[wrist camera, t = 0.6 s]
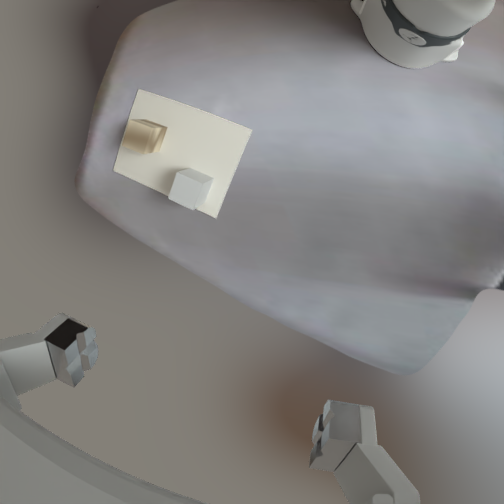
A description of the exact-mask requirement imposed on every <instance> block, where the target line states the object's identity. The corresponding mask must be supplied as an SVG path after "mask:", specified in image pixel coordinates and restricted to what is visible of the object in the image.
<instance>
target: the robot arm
mask: <svg viewBox="0 0 504 504" xmlns="http://www.w3.org/2000/svg"><path fill="white" fill-rule="evenodd" d="M494 4H495V0H364V1H360V0H352V1H351V3H350V5H351V8H352V9H353V11H354V12H355V13H356V14H357V16H358V17H359V18H360V20H361V23H362V27H363V30H364V33H365V35H366V37H367V39H368V41H369V42H370V44H371V45H372V46H373V48H374V49H375V50H376V51H377V52H378V53H379V54H380V55H382V56H383V57H384V58H386V59H387V60H389V61H390V62H392V63H394V64H397V65H399V66H402V67H406V68H412V69H420V68H426V67H429V66H431V65H433V64H435V63H438V62H453V61H455V60H456V59H457V57H458V50H459V48H460V47H461V46H462V45H463V43H464V42H463V37H464V35H466V33H467V32H468V31H469V30H470V28H471V26H473V25H475V24H476V23H478V22H479V21H481V20H483V19H484V18H486V17H487V16H488V15H489V14H490V13H491V11H492V9H493V7H494ZM95 338H96V331H95V329H94V328H93V327H91V326H89V325H86V324H85V323H82V322H81V321H78V320H76V319H74V318H72V317H70V316H68V315H66V314H64V313H59V314H57V315H56V316H55V317H54V318H52V319H51V320H50V321H49V322H47V323H46V324H45V325H44V326H42V327H41V328H40V329H39V330H38V331H36V333H34V334H32V333H27V334H23V335H18V336H13V337H9V338H5V339H0V504H208V503H205V502H201V501H199V500H195V499H192V498H189V497H186V496H183V495H180V494H178V493H175V492H172V491H169V490H167V489H164V488H161V487H158V486H156V485H154V484H151V483H149V482H146V481H144V480H141V479H139V478H137V477H135V476H132V475H130V474H128V473H125V472H123V471H121V470H119V469H117V468H115V467H113V466H111V465H109V464H107V463H105V462H103V461H101V460H99V459H97V458H95V457H93V456H91V455H90V454H88V453H86V452H84V451H82V450H80V449H78V448H77V447H75V446H73V445H72V444H70V443H68V442H67V441H65V440H63V439H62V438H60V437H58V436H57V435H55V434H53V433H52V432H51V431H49V430H47V429H46V428H44V427H43V426H41V425H40V424H38V423H37V422H35V421H34V420H33V419H31V418H30V417H28V416H27V415H25V414H24V413H23V412H21V411H20V410H21V404H20V402H19V399H18V397H17V396H18V395H20V394H23V393H25V392H28V391H30V390H33V389H35V388H37V387H40V386H42V385H45V384H47V383H50V382H52V381H54V380H56V378H57V379H59V380H60V381H62V382H64V383H66V384H68V385H70V386H72V387H75V386H76V385H77V384H78V383H79V382H80V380H81V379H82V378H83V377H84V371H86V370H89V369H91V368H92V367H93V366H94V364H95V362H96V360H97V358H98V346H97V344H96V343H95V341H94V339H95ZM312 442H313V443H314V445H315V446H314V447H313V449H312V450H311V454H310V464H309V468H313V469H320V470H325V471H331V472H334V475H335V477H336V479H337V481H338V483H339V485H340V487H341V489H342V490H343V492H344V494H345V496H346V498H347V500H348V502H349V504H420V496H419V492H418V491H417V490H416V489H415V487H414V486H413V485H412V484H411V482H410V481H409V480H408V479H407V477H406V476H405V475H404V474H403V472H402V471H401V470H400V469H399V467H398V466H397V465H396V464H395V463H394V461H393V460H392V459H391V457H390V456H389V455H388V454H387V452H386V451H385V450H384V449H383V447H382V446H378V445H377V436H376V425H375V415H374V409H373V407H371V406H364V405H357V404H351V403H345V402H339V401H333V400H328V401H327V402H326V404H325V406H324V411H323V414H321V415H320V416H319V417H318V419H317V421H316V424H315V427H314V430H313V437H312Z"/></svg>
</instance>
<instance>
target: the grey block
mask: <svg viewBox="0 0 504 504" xmlns="http://www.w3.org/2000/svg"><path fill="white" fill-rule="evenodd" d="M213 180H214V178H213V177H210V176H208V175H206V174H204V173H201V172H199V171H197V170H194V169H192V168H189V169H185V170H182V171H179V172H177V173H176V176H175V179H174V182H173V185H172V188H171V191H170V194H169V197H168V199H170V200H172V201H174V202H176V203H179V204H181V205H183V206H185V207H187V208H189V209H191V210H194V209H196V208H197V207H199V206H200V205H202V204H203V203H205V201H206V199H207V196H208V193H209V191H210V188H211V186H212V183H213Z"/></svg>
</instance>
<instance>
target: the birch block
mask: <svg viewBox="0 0 504 504" xmlns="http://www.w3.org/2000/svg"><path fill="white" fill-rule="evenodd" d="M167 128H168V127H165V126H163V125H160V124H157V123H155V122H152V121H149V120H147V119H133V120H129V123H128V126H127V129H126V133H125V136H124V139H123V143H122V146H124V147H126V148H129V149H131V150H134V151H136V152H139V153H141V154H149V153H154V152H159V151H160V148H161V145H162V142H163V139H164V136H165V133H166V131H167Z"/></svg>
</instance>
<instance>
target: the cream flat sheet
mask: <svg viewBox="0 0 504 504" xmlns="http://www.w3.org/2000/svg"><path fill="white" fill-rule="evenodd" d="M133 119H147V120H149V121H152V122H155V123H157V124H160V125H163V126H165V127H168V128H167V131H166V133H165V136H164V139H163V142H162V145H161V148H160V151H159V152H154V153H149V154H141V153H139V152H136V151H134V150H131V149H129V148H126V147H124V146H122V143H123V139H124V136H125V133H126V129H127V126H128V123H129V120H133ZM251 133H252V129H249V128H247V127H244V126H242V125H239V124H237V123H234V122H232V121H229V120H227V119H224V118H222V117H219V116H216V115H214V114H211V113H209V112H206V111H203V110H200V109H198V108H195V107H192V106H189V105H186V104H184V103H181V102H178V101H175V100H172V99H169V98H166V97H163V96H160V95H157V94H154V93H150V92H147V91H144V90H141V89H138V92H137V95H136V98H135V101H134V104H133V107H132V109H131V112H130V115H129V119H128V122H127V125H126V128H125V131H124V134H123V138H122V141H121V145H120V148H119V151H118V155H117V159H116V162H115V166H114V170H113V171H115V172H117V173H119V174H122V175H124V176H126V177H128V178H130V179H133V180H135V181H137V182H139V183H141V184H143V185H146V186H148V187H150V188H152V189H154V190H156V191H159V192H161V193H163V194H165V195H167V196H169V194H170V191H171V188H172V185H173V182H174V179H175V176H176V173H177V172H179V171H182V170H185V169H189V168H192V169H194V170H197V171H199V172H201V173H204V174H206V175H208V176H210V177H213V178H214V180H213V183H212V186H211V188H210V191H209V193H208V196H207V199H206V201H205V203H203V204H202V205H200V206H199V207H197V208H196V209H197V210H199V211H201V212H204V213H206V214H208V215H210V216H212V217H214V218H217V215H218V212H219V210H220V207H221V205H222V202H223V200H224V197H225V195H226V193H227V190H228V188H229V185H230V183H231V180H232V178H233V175H234V173H235V171H236V168H237V166H238V163H239V161H240V159H241V156H242V154H243V151H244V149H245V147H246V144H247V142H248V140H249V137H250V135H251Z"/></svg>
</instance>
